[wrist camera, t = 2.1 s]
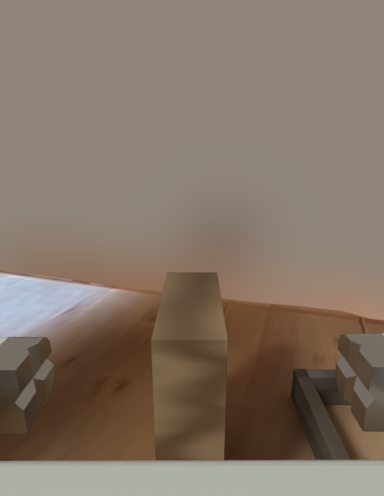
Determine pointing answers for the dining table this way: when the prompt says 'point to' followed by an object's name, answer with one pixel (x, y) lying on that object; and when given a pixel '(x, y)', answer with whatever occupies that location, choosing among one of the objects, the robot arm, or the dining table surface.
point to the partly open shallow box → (319, 411)
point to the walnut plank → (189, 369)
